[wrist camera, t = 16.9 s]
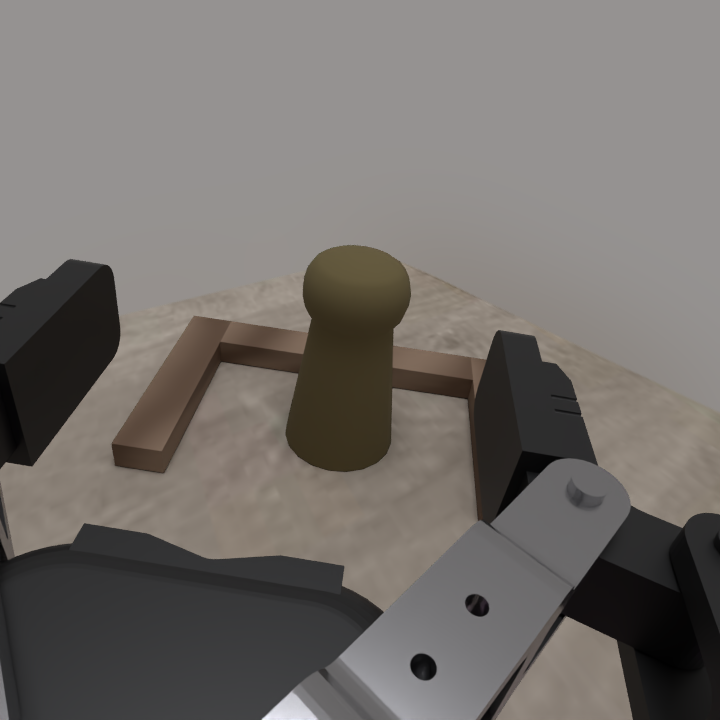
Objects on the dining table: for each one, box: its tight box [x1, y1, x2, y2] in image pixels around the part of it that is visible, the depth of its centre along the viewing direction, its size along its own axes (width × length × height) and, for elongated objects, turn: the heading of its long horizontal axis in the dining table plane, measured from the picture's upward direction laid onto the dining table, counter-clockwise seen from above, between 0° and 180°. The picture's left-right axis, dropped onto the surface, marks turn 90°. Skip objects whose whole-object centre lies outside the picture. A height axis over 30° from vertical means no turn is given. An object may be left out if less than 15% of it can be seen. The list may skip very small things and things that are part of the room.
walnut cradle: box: [112, 316, 486, 521], centre depth 35 cm, size 21×12×2 cm, turn 84°
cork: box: [286, 245, 411, 472], centre depth 31 cm, size 6×6×11 cm
